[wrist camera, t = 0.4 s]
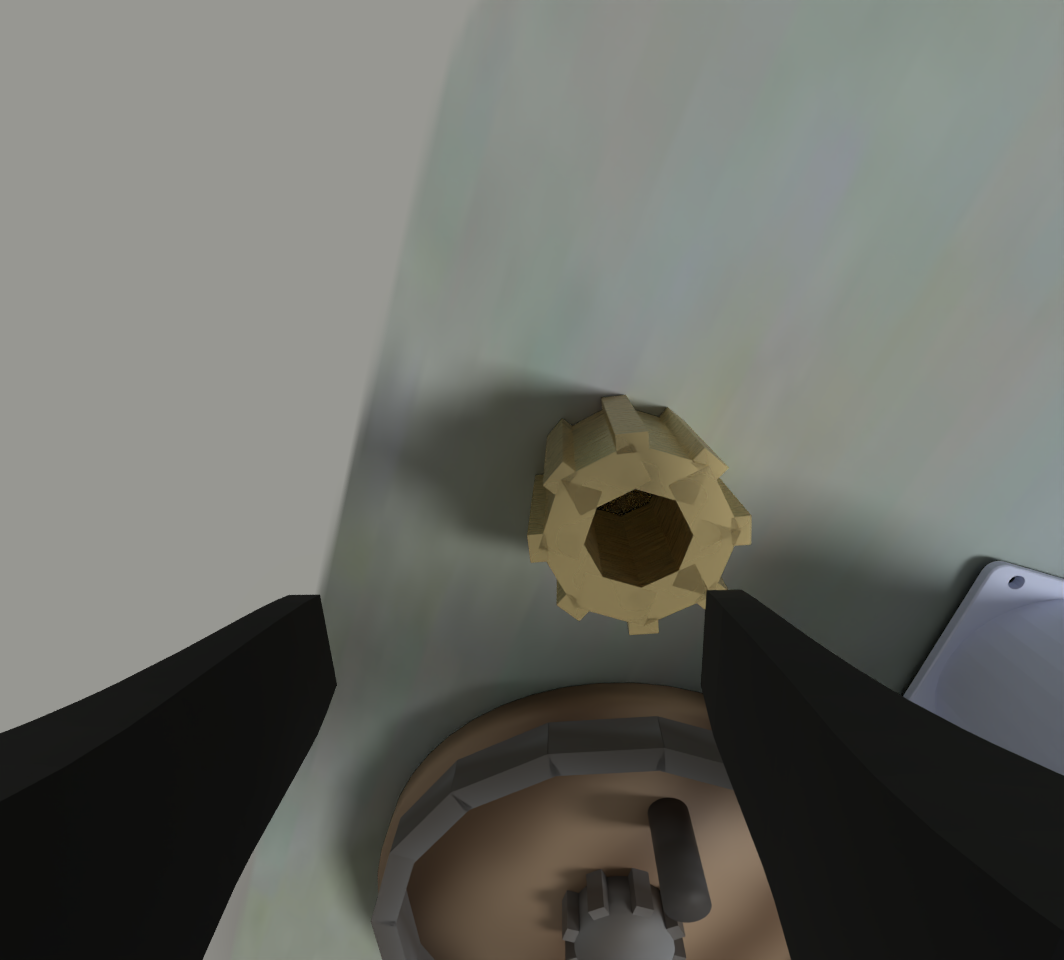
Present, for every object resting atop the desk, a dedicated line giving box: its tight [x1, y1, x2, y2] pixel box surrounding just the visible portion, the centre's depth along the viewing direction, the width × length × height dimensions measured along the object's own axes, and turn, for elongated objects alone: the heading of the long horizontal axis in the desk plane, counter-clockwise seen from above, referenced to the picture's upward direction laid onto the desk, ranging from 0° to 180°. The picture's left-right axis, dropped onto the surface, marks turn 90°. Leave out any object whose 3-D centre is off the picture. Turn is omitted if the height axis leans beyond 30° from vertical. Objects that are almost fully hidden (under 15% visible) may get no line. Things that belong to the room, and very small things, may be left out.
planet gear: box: [527, 395, 751, 635], centre depth 17 cm, size 6×6×5 cm
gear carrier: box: [371, 683, 791, 960], centre depth 23 cm, size 21×21×5 cm
